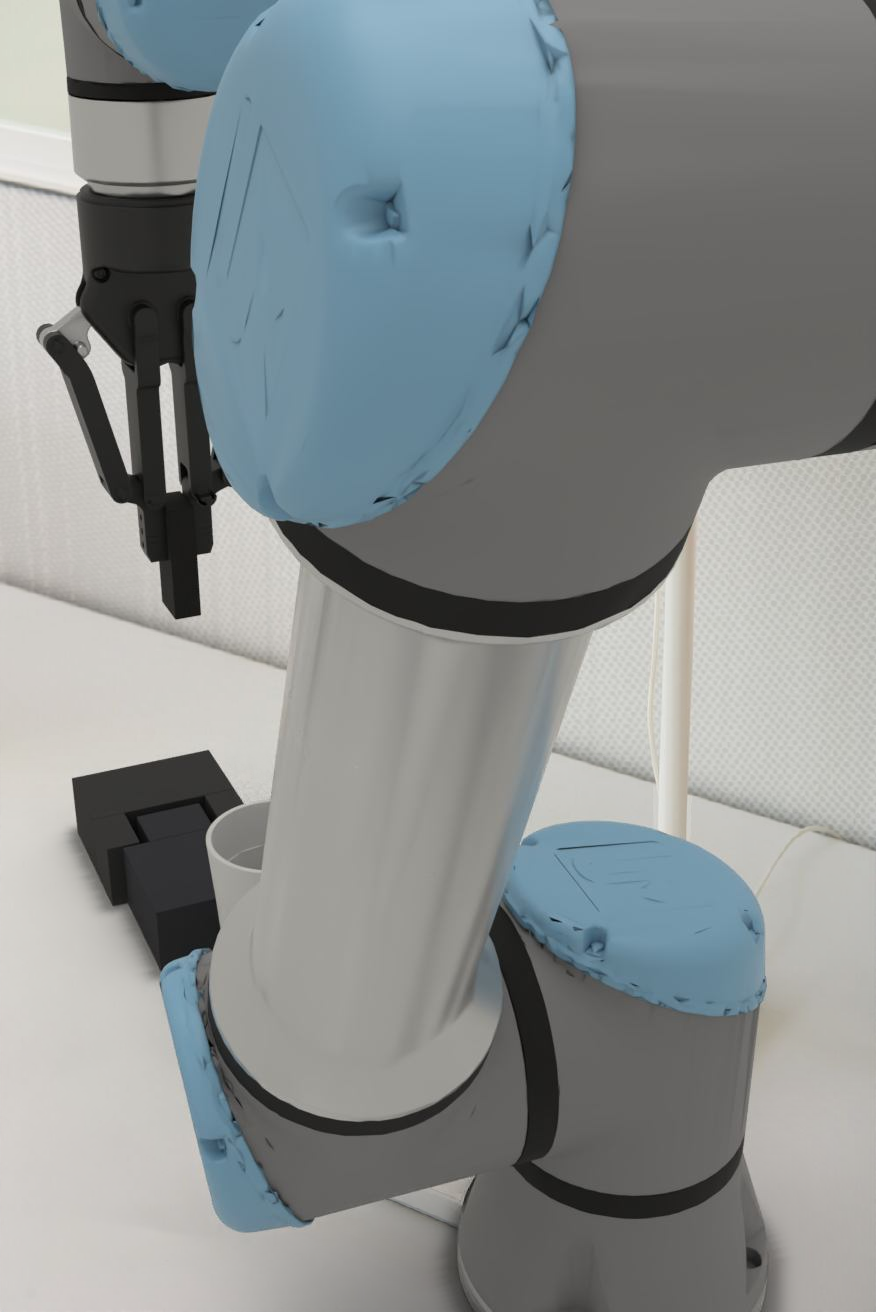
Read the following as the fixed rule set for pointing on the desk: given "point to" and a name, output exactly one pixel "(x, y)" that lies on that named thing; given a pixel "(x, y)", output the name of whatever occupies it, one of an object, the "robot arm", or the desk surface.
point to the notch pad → (142, 806)
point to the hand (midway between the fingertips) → (181, 608)
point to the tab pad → (172, 883)
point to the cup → (236, 852)
